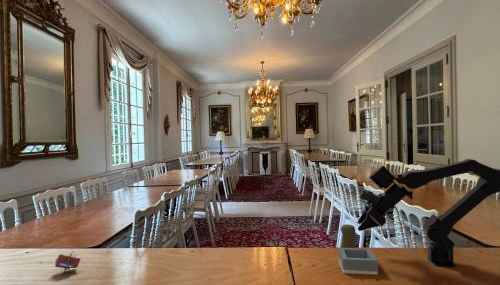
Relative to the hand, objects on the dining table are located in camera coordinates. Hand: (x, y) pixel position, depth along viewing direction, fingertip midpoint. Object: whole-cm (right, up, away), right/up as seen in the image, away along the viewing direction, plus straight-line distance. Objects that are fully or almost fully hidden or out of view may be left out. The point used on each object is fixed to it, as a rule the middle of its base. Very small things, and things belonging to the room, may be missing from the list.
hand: (358, 226), depth 113 cm
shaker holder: (-4, -11, -10) cm, 15 cm away
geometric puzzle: (-103, -14, -8) cm, 104 cm away
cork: (-3, -11, +1) cm, 12 cm away
